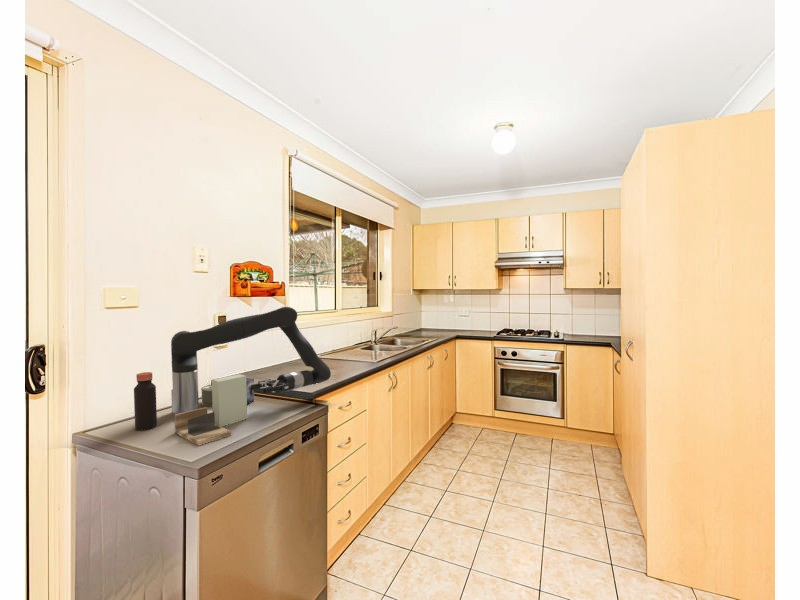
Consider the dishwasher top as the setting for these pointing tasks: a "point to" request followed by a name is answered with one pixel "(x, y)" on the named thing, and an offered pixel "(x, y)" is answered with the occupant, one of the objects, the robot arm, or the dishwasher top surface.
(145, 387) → the bottle
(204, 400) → the can
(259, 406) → the dishwasher top surface
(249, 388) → the small box
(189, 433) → the rack
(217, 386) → the book
